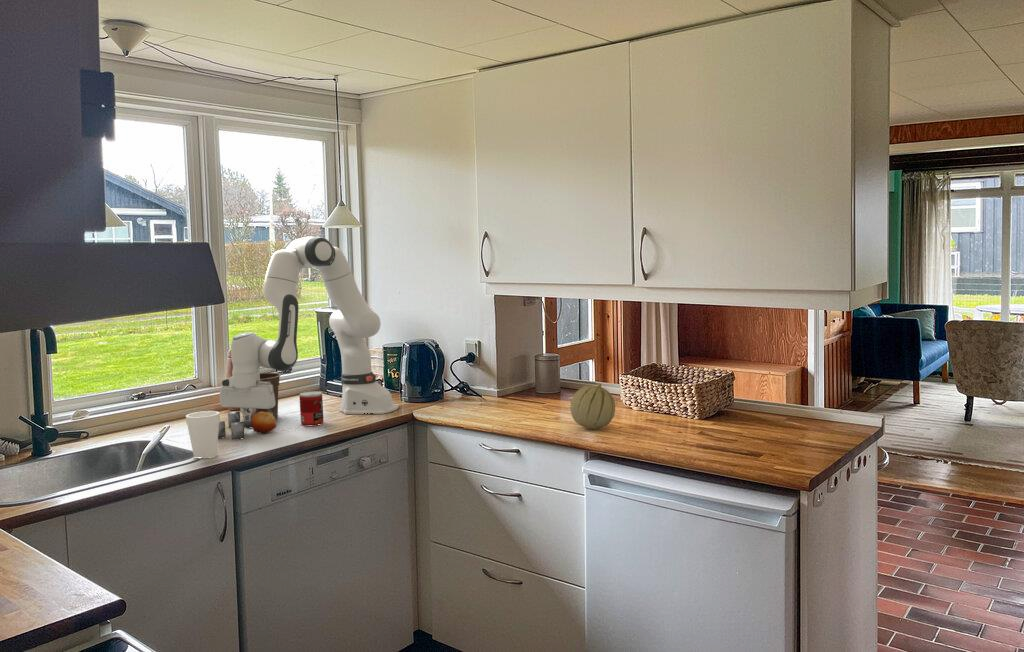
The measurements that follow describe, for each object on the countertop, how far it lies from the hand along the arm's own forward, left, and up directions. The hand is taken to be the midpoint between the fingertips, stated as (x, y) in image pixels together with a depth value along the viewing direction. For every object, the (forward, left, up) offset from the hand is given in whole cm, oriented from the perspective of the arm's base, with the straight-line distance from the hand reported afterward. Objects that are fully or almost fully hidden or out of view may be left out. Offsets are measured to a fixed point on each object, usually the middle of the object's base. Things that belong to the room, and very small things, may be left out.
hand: (248, 420), depth 267 cm
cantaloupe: (-114, -28, -4) cm, 117 cm away
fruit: (-5, -1, -4) cm, 7 cm away
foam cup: (-7, +30, -4) cm, 31 cm away
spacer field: (+5, 0, -4) cm, 7 cm away
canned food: (-15, -16, -4) cm, 22 cm away
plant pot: (+9, -19, -4) cm, 22 cm away
